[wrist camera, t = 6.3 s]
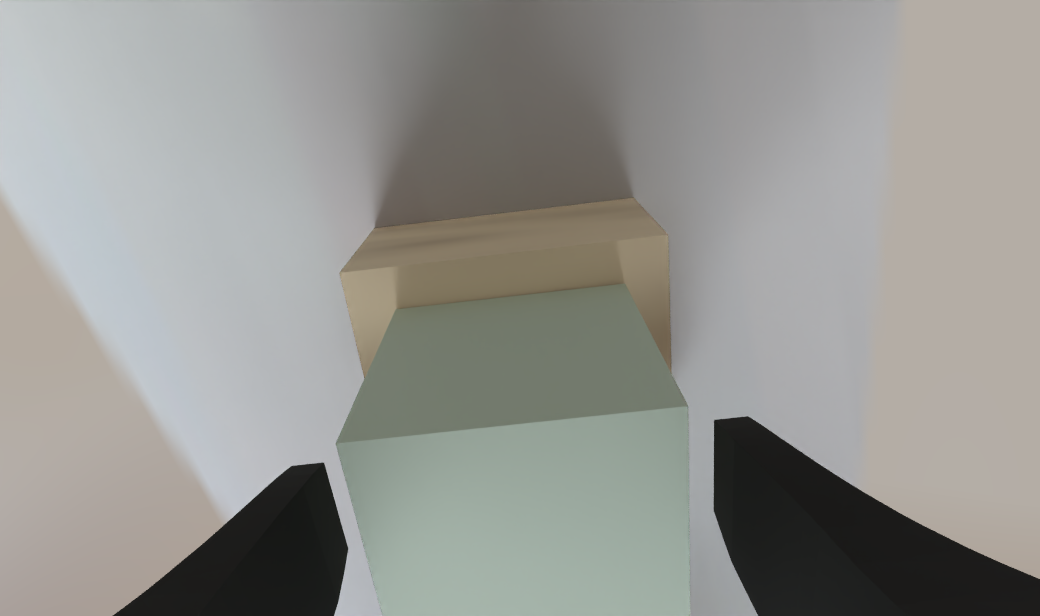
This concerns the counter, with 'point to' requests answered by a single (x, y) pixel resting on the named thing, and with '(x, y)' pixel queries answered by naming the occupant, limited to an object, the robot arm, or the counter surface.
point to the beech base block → (509, 264)
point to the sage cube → (522, 461)
